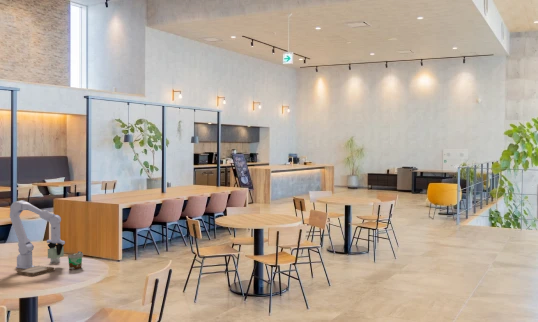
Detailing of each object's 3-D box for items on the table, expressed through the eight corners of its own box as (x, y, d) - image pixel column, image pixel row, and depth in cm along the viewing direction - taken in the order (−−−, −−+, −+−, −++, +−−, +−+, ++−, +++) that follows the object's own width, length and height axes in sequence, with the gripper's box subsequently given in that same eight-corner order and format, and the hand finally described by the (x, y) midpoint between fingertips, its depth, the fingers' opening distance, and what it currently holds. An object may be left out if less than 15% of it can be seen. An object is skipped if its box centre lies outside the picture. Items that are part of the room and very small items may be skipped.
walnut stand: (17, 274, 328) (17, 270, 328) (38, 268, 343) (38, 265, 343) (33, 276, 322) (33, 273, 322) (54, 270, 337) (54, 267, 337)
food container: (76, 270, 336) (76, 255, 336) (67, 270, 337) (67, 254, 337) (87, 266, 348) (86, 251, 348) (78, 266, 349) (78, 251, 349)
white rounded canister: (48, 262, 361) (48, 250, 361) (55, 260, 367) (55, 249, 366) (54, 263, 359) (54, 251, 358) (61, 261, 364) (61, 250, 364)
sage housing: (47, 258, 344) (47, 249, 343) (59, 255, 353) (59, 246, 352) (52, 258, 342) (52, 249, 341) (64, 255, 351) (64, 246, 350)
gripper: (68, 233, 347) (68, 254, 347) (52, 232, 353) (52, 252, 353) (60, 235, 340) (60, 256, 341) (43, 233, 347) (44, 254, 347)
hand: (55, 254), depth 347 cm, fingers closed on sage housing, 5 cm apart
